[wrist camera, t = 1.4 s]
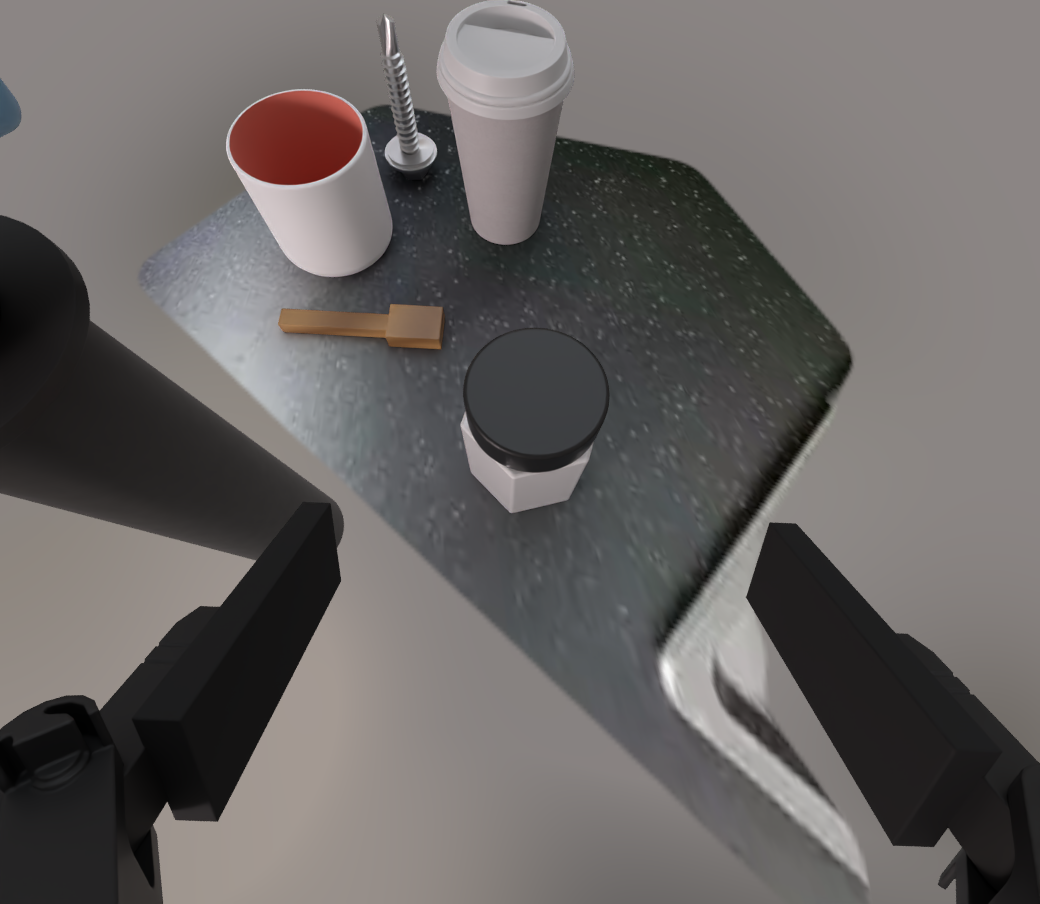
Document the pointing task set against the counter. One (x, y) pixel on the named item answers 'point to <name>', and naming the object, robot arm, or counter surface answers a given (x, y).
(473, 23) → the coffee cup
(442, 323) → the brown wooden bar
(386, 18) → the screw
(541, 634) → the counter surface
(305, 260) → the cup
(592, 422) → the jar
